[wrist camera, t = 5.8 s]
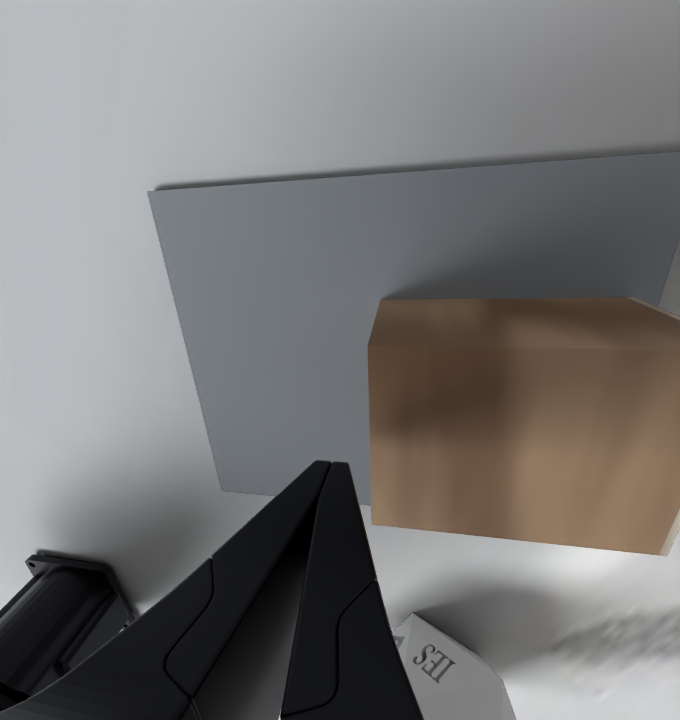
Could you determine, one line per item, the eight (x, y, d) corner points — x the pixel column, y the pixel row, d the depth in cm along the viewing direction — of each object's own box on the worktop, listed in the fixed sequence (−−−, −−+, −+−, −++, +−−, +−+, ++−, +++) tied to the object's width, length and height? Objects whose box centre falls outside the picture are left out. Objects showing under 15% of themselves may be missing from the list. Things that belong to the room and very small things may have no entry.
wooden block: (371, 524, 11) (667, 556, 9) (367, 345, 8) (763, 351, 7) (381, 437, 15) (588, 450, 13) (380, 299, 12) (633, 297, 11)
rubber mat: (224, 486, 18) (221, 491, 18) (152, 191, 13) (146, 191, 12) (583, 520, 15) (586, 526, 15) (699, 150, 10) (707, 149, 9)
